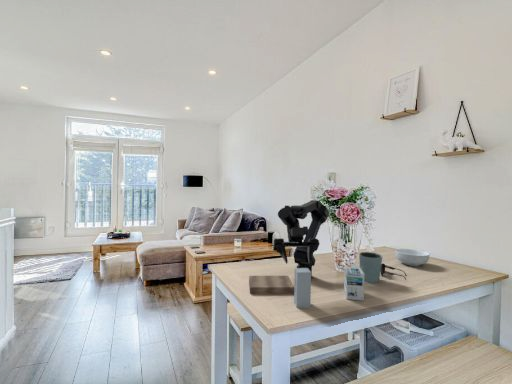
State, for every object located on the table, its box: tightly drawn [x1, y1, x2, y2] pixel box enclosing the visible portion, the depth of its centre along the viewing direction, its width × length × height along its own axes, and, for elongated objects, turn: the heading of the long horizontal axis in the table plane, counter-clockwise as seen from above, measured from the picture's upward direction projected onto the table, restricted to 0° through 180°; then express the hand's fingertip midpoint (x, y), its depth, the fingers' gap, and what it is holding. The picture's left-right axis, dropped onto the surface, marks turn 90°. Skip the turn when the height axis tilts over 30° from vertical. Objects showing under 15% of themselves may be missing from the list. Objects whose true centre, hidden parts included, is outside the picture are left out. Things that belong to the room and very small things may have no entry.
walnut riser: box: [248, 275, 294, 294], centre depth 121 cm, size 18×14×2 cm
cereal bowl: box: [394, 248, 430, 267], centre depth 159 cm, size 17×17×7 cm
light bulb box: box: [343, 264, 365, 301], centre depth 114 cm, size 11×7×11 cm, turn 168°
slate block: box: [293, 267, 312, 309], centre depth 104 cm, size 5×5×13 cm
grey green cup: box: [358, 251, 383, 284], centre depth 132 cm, size 10×10×12 cm
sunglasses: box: [380, 262, 407, 280], centre depth 139 cm, size 10×12×5 cm
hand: (298, 263), depth 112 cm, fingers open, 9 cm apart
